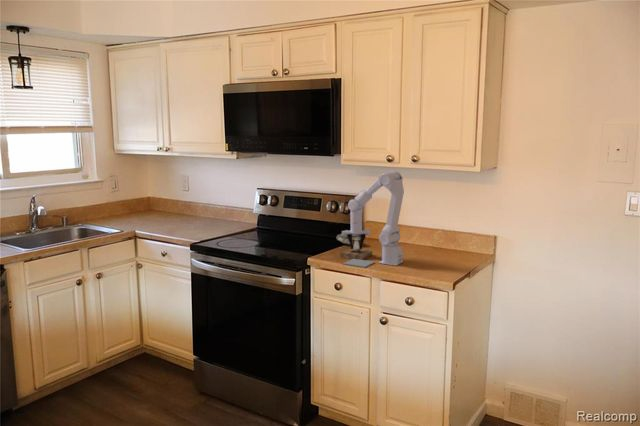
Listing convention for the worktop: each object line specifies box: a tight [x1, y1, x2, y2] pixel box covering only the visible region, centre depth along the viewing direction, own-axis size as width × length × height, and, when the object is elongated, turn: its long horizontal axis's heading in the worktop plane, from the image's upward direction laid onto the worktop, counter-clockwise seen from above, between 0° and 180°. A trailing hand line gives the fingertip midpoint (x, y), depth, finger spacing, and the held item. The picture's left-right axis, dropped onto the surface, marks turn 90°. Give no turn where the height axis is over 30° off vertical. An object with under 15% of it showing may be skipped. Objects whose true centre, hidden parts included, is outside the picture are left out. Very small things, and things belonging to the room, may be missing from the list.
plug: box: [352, 239, 360, 253], centre depth 260 cm, size 4×4×8 cm
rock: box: [335, 229, 361, 246], centre depth 288 cm, size 18×10×10 cm
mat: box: [342, 259, 375, 268], centre depth 247 cm, size 12×10×1 cm
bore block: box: [339, 247, 373, 260], centre depth 261 cm, size 12×12×2 cm
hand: (356, 248), depth 261 cm, fingers closed on plug, 4 cm apart
